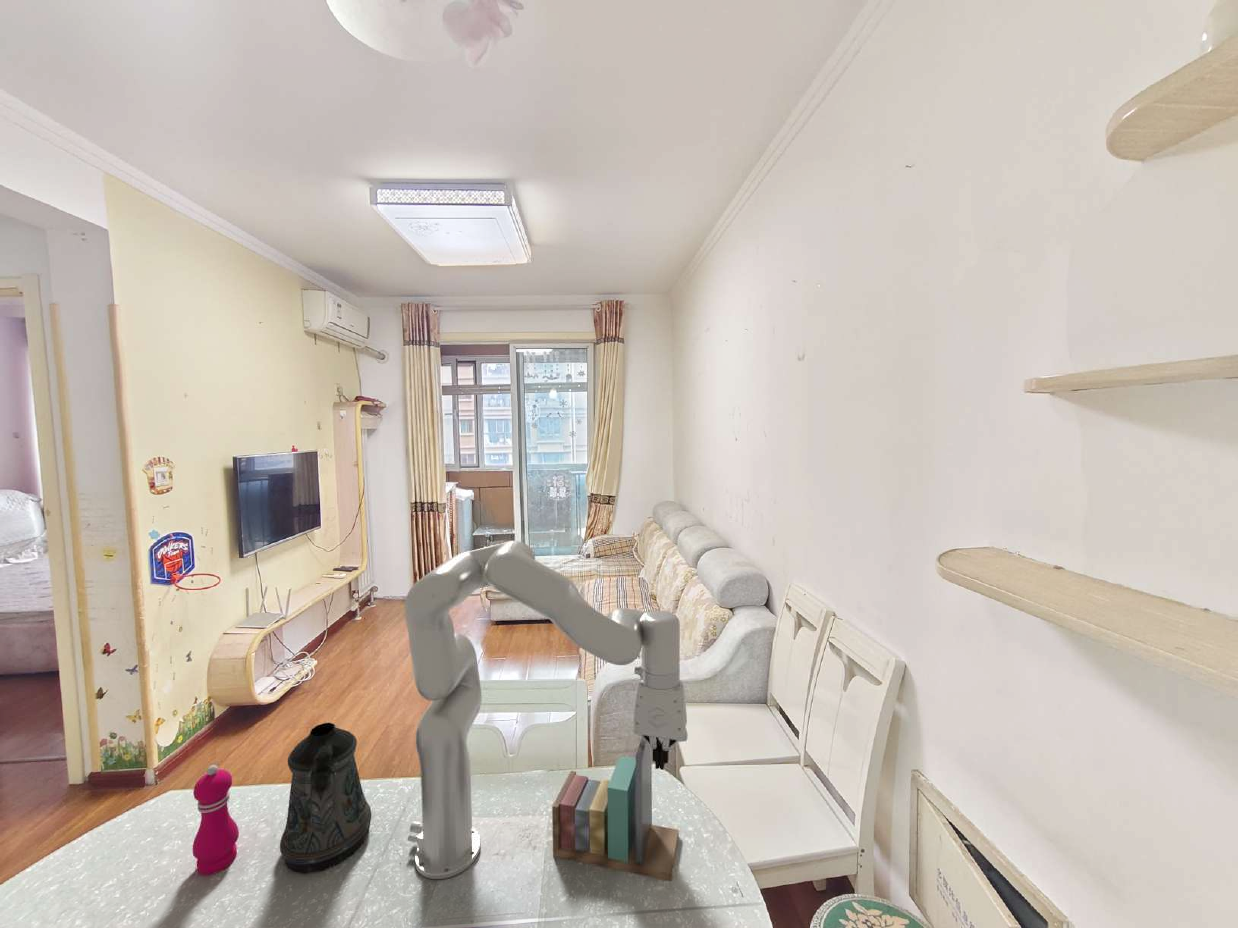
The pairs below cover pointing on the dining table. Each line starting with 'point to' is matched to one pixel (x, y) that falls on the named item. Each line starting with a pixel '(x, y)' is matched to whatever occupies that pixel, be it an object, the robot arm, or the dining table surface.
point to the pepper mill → (214, 823)
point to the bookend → (643, 798)
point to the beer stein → (324, 802)
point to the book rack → (603, 831)
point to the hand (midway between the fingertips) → (660, 764)
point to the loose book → (622, 809)
